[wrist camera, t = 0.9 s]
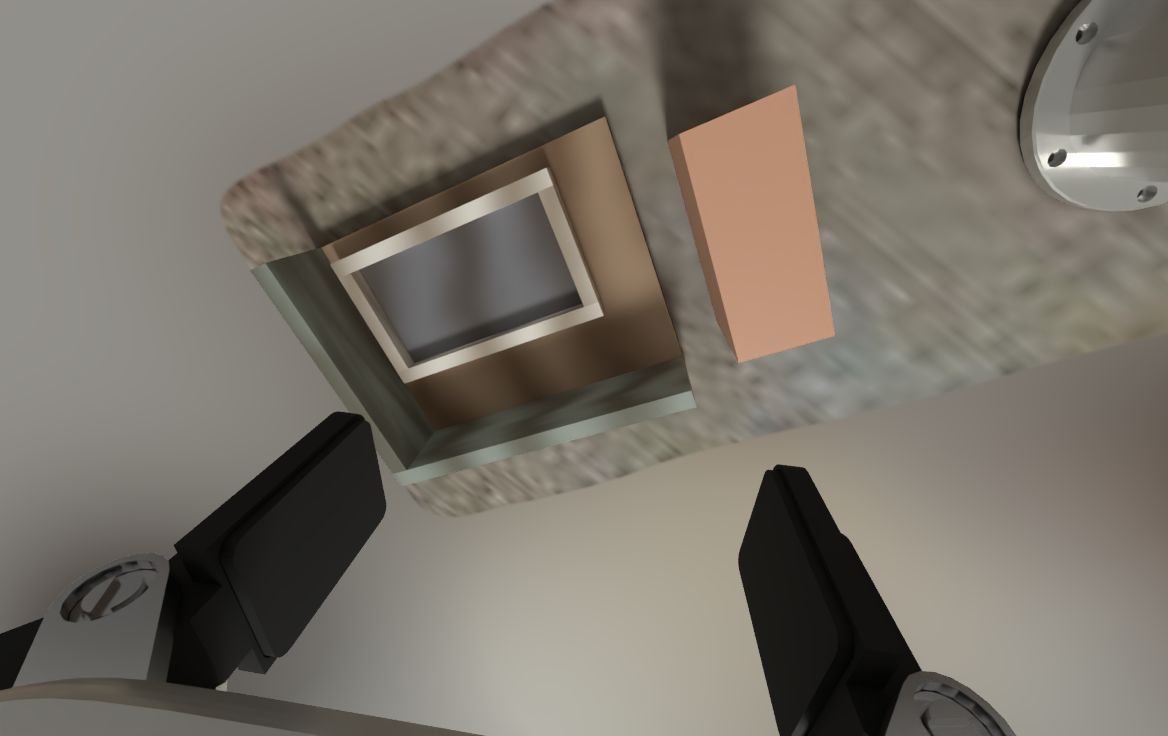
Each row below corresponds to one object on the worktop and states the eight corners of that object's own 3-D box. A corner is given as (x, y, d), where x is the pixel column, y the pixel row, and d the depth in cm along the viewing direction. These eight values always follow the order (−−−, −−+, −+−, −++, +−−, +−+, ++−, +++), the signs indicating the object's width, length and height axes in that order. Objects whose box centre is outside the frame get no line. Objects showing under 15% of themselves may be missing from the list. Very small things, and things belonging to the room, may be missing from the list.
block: (667, 140, 25) (679, 134, 19) (753, 104, 24) (795, 84, 18) (716, 320, 30) (738, 363, 24) (790, 297, 29) (834, 335, 22)
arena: (605, 117, 25) (598, 106, 20) (685, 364, 31) (696, 406, 26) (317, 251, 30) (250, 270, 25) (435, 438, 37) (401, 486, 31)
